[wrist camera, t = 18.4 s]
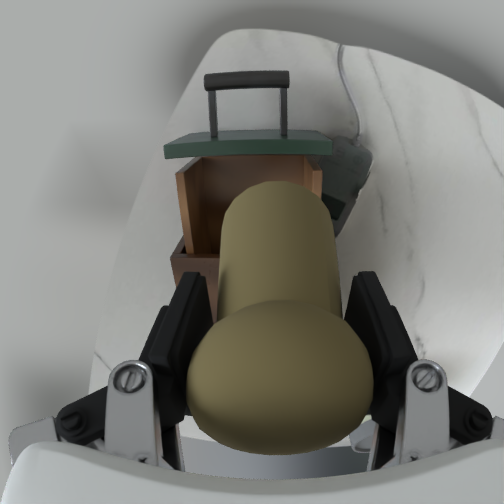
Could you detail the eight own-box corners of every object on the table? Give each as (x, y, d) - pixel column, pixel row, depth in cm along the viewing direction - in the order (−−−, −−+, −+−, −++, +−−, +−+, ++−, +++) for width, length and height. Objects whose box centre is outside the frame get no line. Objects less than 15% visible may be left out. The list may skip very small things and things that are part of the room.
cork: (257, 294, 17) (242, 475, 8) (199, 215, 15) (108, 404, 5) (349, 253, 15) (410, 440, 6) (302, 159, 13) (375, 336, 4)
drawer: (185, 81, 25) (157, 77, 18) (317, 77, 24) (333, 69, 17) (202, 259, 35) (187, 298, 29) (310, 259, 34) (318, 300, 28)
